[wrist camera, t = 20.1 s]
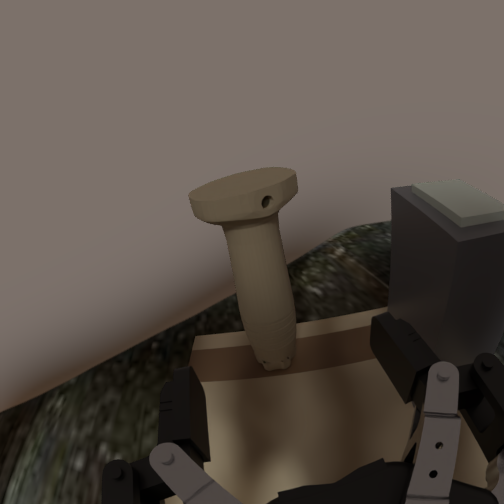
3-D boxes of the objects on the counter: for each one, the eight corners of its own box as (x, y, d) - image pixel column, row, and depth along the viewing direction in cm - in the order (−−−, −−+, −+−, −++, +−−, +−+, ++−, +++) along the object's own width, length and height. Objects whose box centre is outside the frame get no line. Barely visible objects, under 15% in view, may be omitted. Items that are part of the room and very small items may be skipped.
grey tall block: (413, 407, 16) (459, 231, 10) (384, 334, 23) (390, 180, 17) (478, 383, 15) (536, 216, 9) (441, 319, 23) (460, 173, 16)
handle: (230, 360, 24) (178, 192, 18) (290, 327, 27) (265, 164, 20) (260, 396, 21) (208, 207, 14) (324, 355, 23) (311, 172, 16)
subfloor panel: (161, 537, 11) (153, 534, 11) (199, 344, 29) (195, 336, 28) (513, 471, 8) (521, 465, 8) (427, 305, 26) (429, 296, 26)
